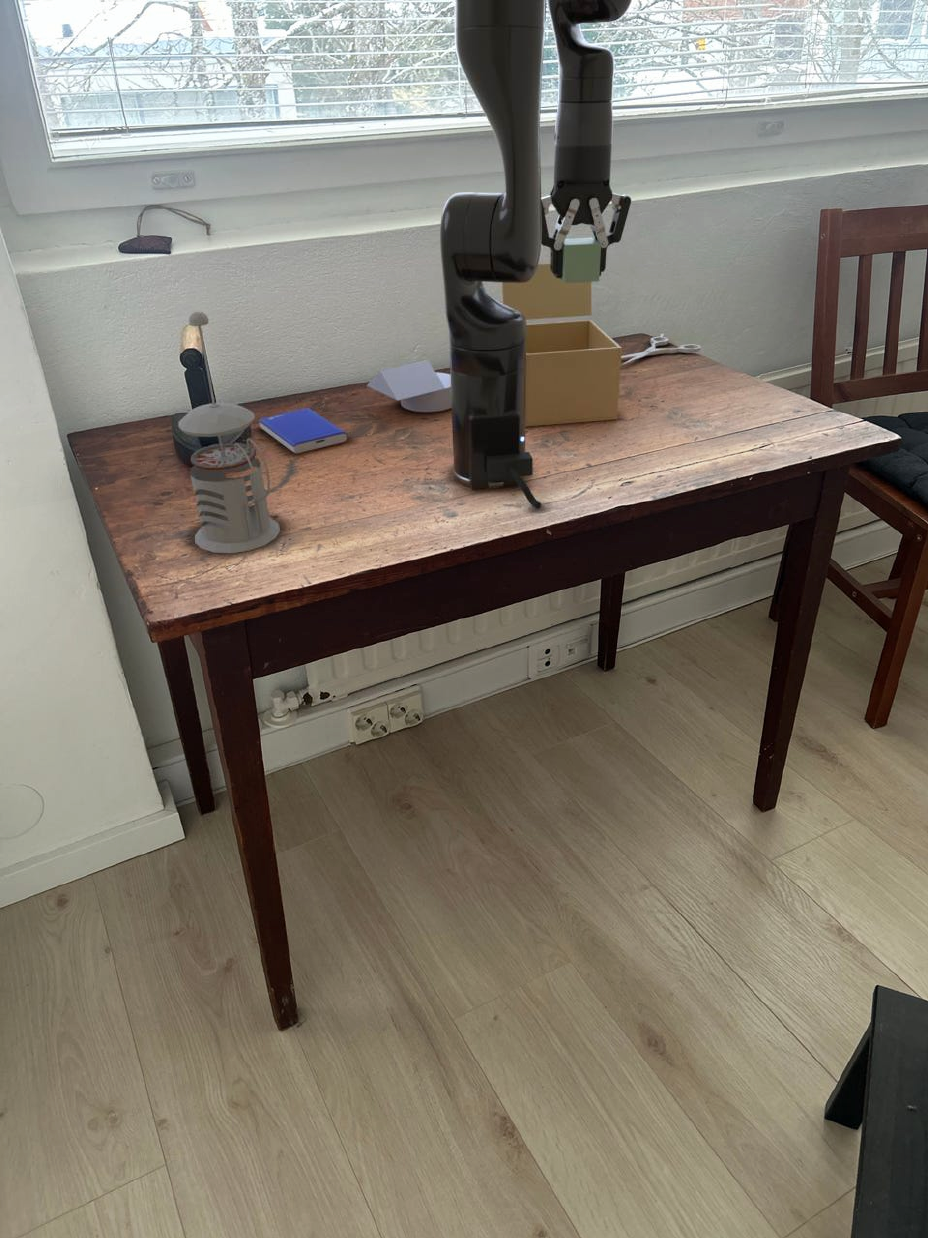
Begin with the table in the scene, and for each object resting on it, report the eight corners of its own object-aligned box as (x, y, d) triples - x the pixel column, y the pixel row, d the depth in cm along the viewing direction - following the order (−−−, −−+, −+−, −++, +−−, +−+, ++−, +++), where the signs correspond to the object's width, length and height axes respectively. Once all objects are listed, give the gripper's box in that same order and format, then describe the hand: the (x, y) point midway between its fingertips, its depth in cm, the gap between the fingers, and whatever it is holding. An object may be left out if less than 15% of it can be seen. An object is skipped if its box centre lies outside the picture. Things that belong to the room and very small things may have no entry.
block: (599, 281, 125) (601, 243, 123) (564, 283, 125) (565, 244, 122) (589, 274, 130) (591, 237, 127) (556, 276, 129) (557, 239, 126)
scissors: (709, 344, 160) (634, 367, 149) (708, 348, 160) (634, 372, 150) (662, 333, 167) (588, 354, 156) (662, 337, 167) (588, 359, 157)
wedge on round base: (399, 422, 133) (469, 403, 139) (395, 377, 130) (468, 360, 136) (368, 406, 139) (437, 389, 146) (364, 363, 136) (435, 347, 142)
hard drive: (258, 418, 132) (292, 443, 123) (309, 407, 135) (346, 430, 126) (260, 428, 132) (294, 454, 124) (310, 417, 136) (347, 441, 127)
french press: (246, 507, 110) (209, 295, 96) (307, 534, 103) (277, 311, 89) (177, 536, 103) (127, 315, 90) (238, 567, 97) (194, 333, 83)
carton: (503, 392, 144) (503, 325, 138) (588, 385, 145) (591, 319, 139) (524, 426, 130) (524, 354, 125) (617, 419, 132) (622, 347, 126)
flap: (503, 321, 137) (503, 320, 138) (591, 315, 139) (590, 315, 139) (501, 266, 134) (501, 266, 135) (591, 260, 136) (590, 260, 136)
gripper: (536, 145, 114) (533, 284, 123) (644, 140, 116) (634, 278, 125) (524, 140, 120) (522, 273, 129) (627, 137, 122) (618, 268, 131)
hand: (577, 275), depth 127 cm, fingers closed on block, 5 cm apart
